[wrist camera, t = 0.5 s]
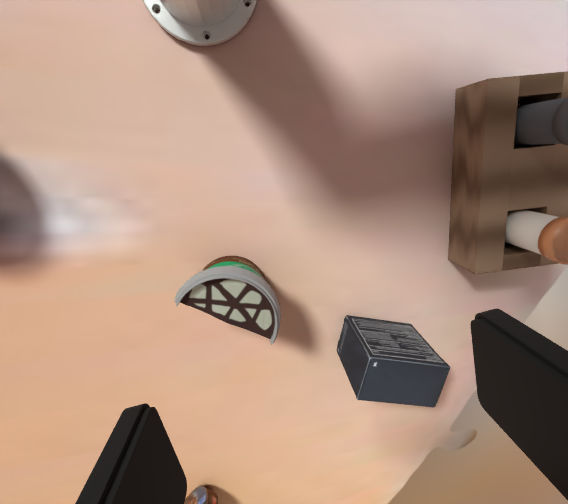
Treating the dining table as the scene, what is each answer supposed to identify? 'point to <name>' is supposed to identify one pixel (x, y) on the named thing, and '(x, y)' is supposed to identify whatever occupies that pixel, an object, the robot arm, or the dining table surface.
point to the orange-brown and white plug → (538, 233)
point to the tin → (202, 496)
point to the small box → (390, 362)
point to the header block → (502, 171)
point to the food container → (234, 295)
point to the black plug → (542, 123)
